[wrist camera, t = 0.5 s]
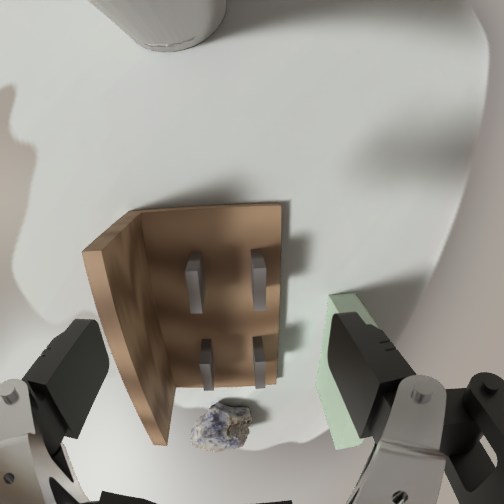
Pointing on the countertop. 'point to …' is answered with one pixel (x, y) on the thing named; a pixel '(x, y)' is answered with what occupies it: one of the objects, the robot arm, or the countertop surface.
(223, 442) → the mineral specimen
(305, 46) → the countertop surface
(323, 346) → the cabinet door
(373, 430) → the robot arm
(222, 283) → the hinge base
